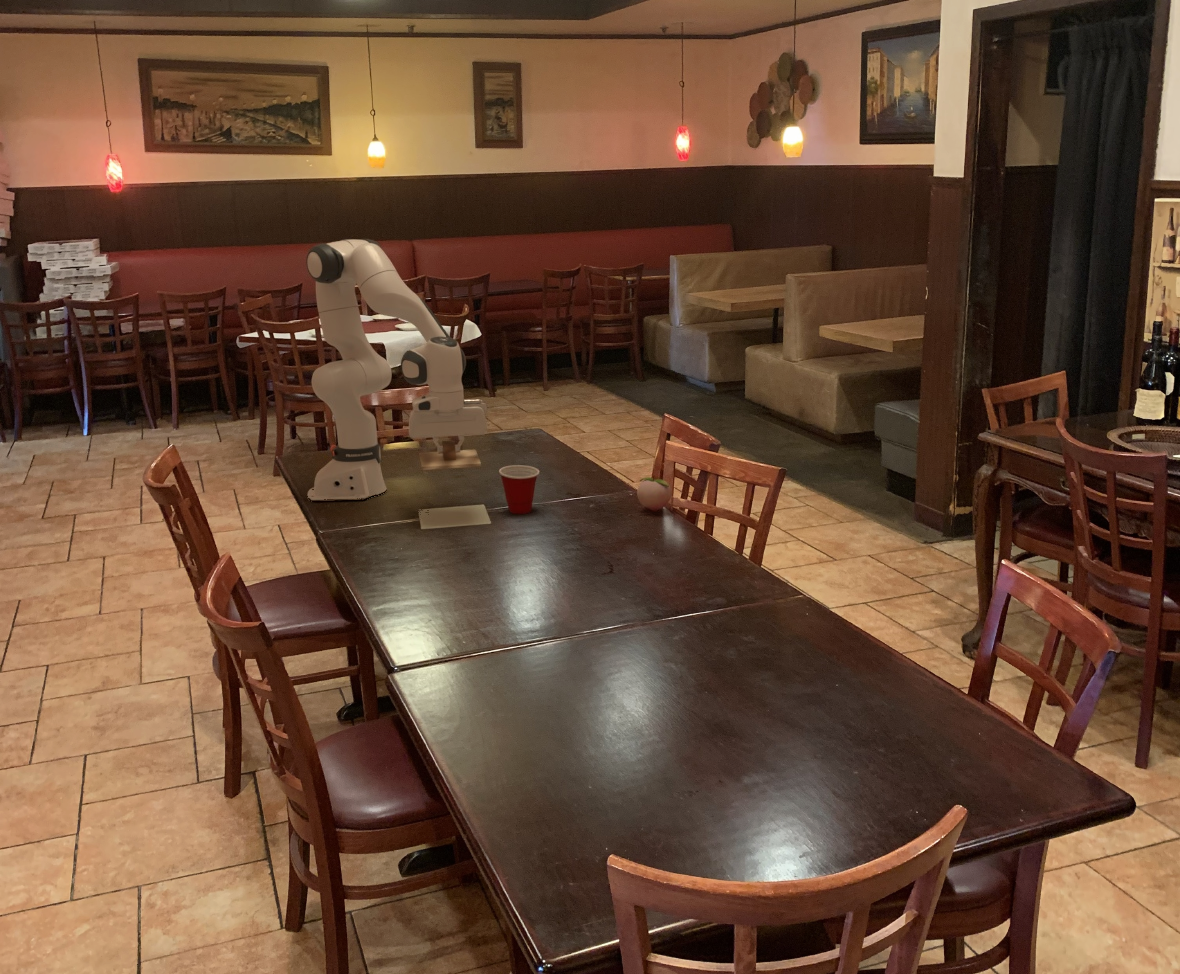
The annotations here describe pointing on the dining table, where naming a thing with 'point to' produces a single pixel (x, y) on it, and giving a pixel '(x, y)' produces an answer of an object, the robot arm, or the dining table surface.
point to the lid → (449, 458)
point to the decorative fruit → (654, 493)
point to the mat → (454, 516)
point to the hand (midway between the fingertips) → (449, 452)
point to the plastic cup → (519, 487)
